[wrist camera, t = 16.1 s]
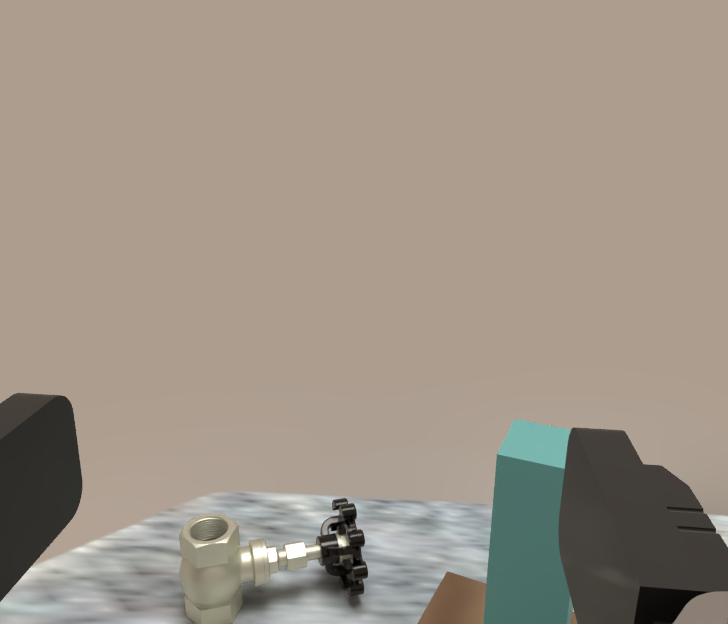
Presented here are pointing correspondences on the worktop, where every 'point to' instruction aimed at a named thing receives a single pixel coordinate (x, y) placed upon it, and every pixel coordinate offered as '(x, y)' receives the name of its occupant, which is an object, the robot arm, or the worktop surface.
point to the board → (459, 602)
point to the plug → (528, 529)
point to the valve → (259, 561)
